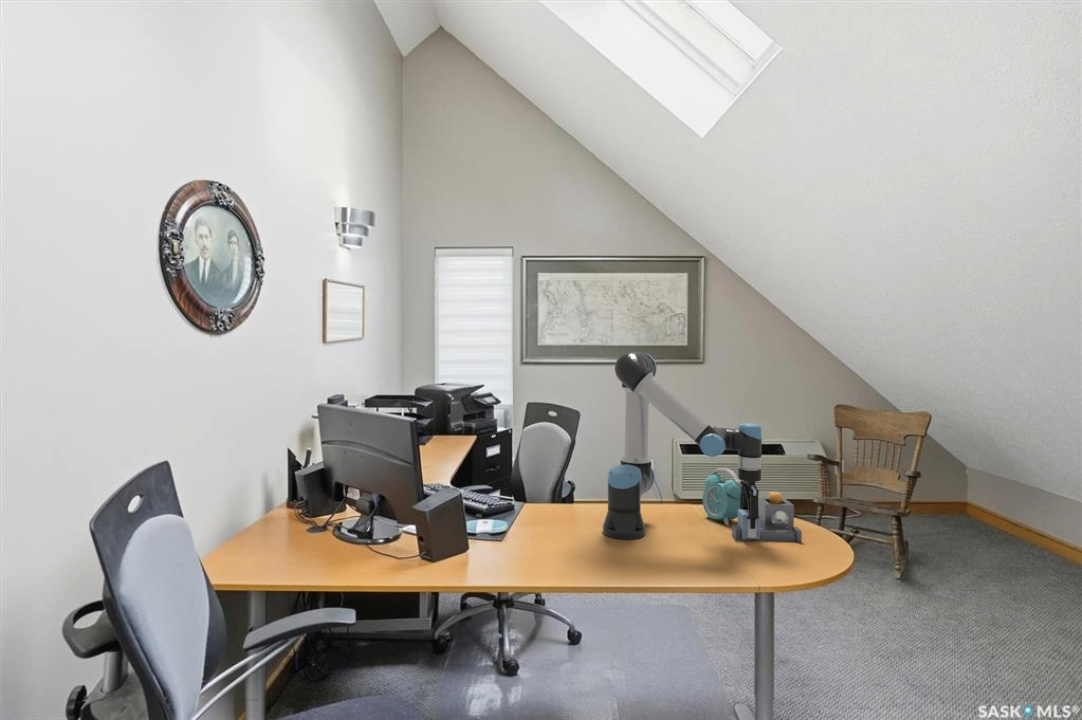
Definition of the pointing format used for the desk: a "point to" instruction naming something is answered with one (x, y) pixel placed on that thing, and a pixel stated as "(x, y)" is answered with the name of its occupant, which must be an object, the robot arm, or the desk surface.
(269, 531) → the desk surface
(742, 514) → the block
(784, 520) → the cabinet
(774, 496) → the button
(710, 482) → the alarm clock
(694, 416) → the robot arm
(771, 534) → the rail
